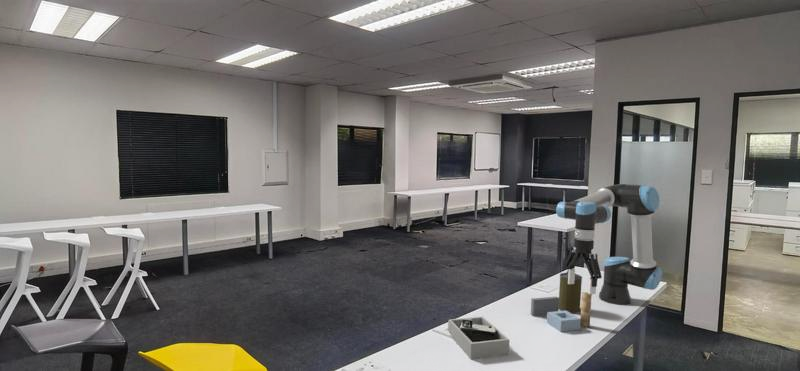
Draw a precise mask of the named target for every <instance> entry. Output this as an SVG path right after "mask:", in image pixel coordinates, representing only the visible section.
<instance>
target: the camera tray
mask: <svg viewBox="0 0 800 371" xmlns="http://www.w3.org/2000/svg"><path fill="white" fill-rule="evenodd" d="M465 318H466V319H472V325H473V324H477V325H484V326H491V327H495V325H493V324H492V323H490V321H489V320H487V319H486V318H485V317H483V316H474V317H473V316H472V317H465ZM462 319H463V317H462V318H461V317H460V318H451V319H448V322H447V324H448V325H447V332H448V331H449V333H450V334H451V335H452V337H451V338H452V340H453V341H454V343H456V345H457V346H459V348H460V349H461V350H462V351H463V352H464V353H465V355H466V354H467V355H466V356H467V357H468V358H469V360H475V359H474V358H478V359H483V357H486V358H492V357H493V356H494V357H501V356H509V355H510V338H508V337H507V336H506V335H505V334H503V333H502V332H501V331H500V330H499V329H498V328H496V340H491V341H481V342H472V341H471V340H470V339H469V338H468V337H467V336H466V335H465V334H464V333H463V332H462V331H461V330H460V326H461V324H462ZM466 322H467V321H466ZM466 322H464V324H465V325H466ZM468 323H469V324H470V322H469V321H468Z"/></svg>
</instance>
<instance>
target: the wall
mask: <svg viewBox="0 0 800 371" xmlns="http://www.w3.org/2000/svg"><path fill="white" fill-rule="evenodd" d="M530 300H531V301H530V316H532V317H540V316H547V312H555V311H560V310H559V296H548V297H547V296H545V297H535V298H530Z"/></svg>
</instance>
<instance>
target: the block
mask: <svg viewBox="0 0 800 371" xmlns="http://www.w3.org/2000/svg"><path fill="white" fill-rule="evenodd" d="M580 318H581V317H578V316H576V315H575V314H572V313H570V312H568V311H561V310H558V311H555V312H547V315H546V324H548V325H549V326H551V327H553V328H554V329H555V330H556V331H558V332H560V333H564V332H573V331H581V326H580V321H581V319H580Z"/></svg>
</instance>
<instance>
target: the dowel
mask: <svg viewBox="0 0 800 371" xmlns="http://www.w3.org/2000/svg"><path fill="white" fill-rule="evenodd" d="M592 295H593V294H589V292H581V300H580V317H579V318H580V319H581V321H580V328H581V327H582V328H583V329H589V328H590V327H591V312H592Z"/></svg>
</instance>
